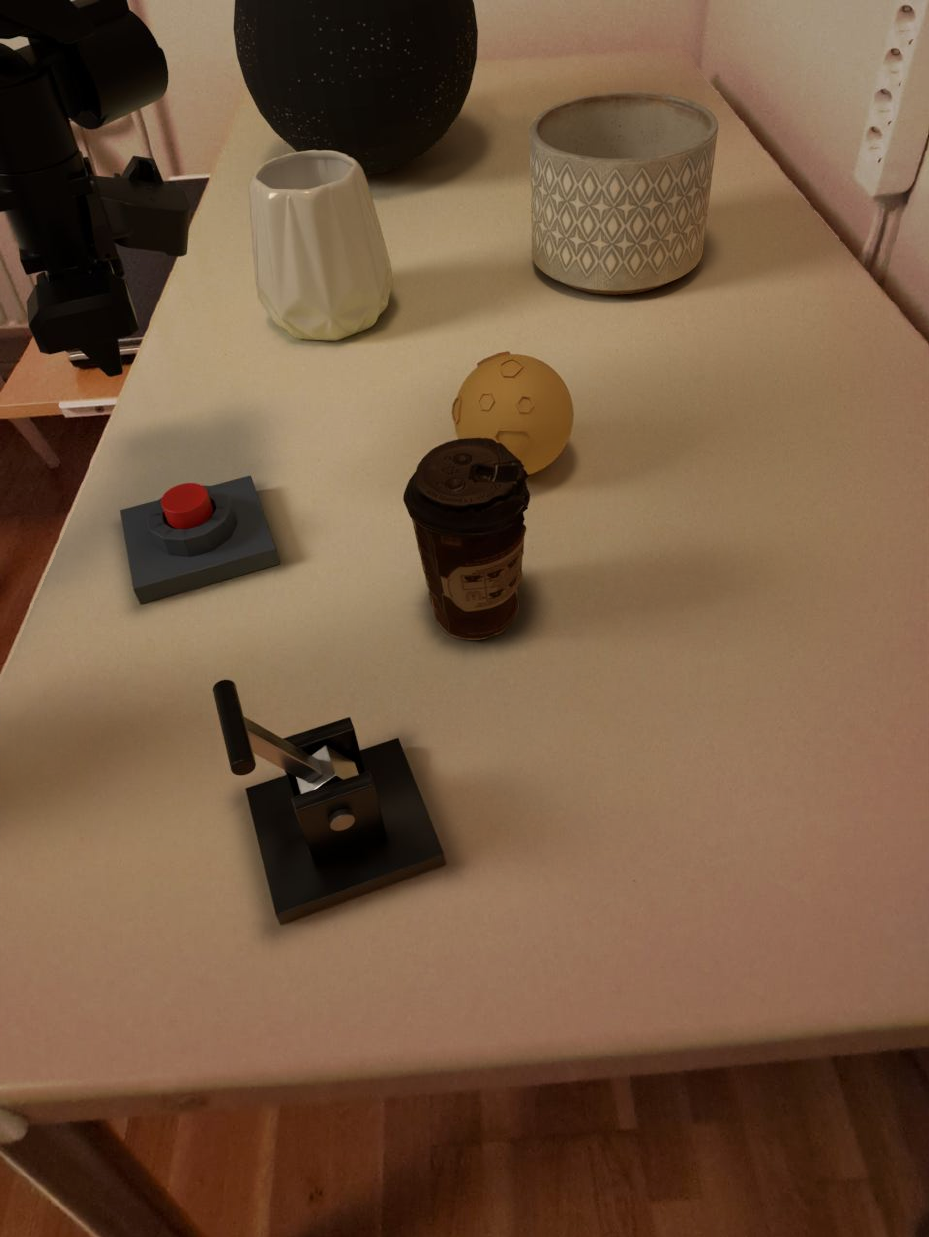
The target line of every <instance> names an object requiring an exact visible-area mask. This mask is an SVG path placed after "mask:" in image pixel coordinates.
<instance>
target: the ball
mask: <svg viewBox="0 0 929 1237" xmlns="http://www.w3.org/2000/svg"><path fill="white" fill-rule="evenodd" d="M475 7H476V6H475V2H474V0H234V11H233V12H234V13H233V35H234V44H235V51H236V58H237V61H238V63H239V67H240V70H241V71H240V72H241V74H242V77H243V81H244V83H245V86H246V88H247V90H248V93H249V94H250V96H251V98H252V100H253V102H254V105H255V106H256V108H257V110H258V113H259V114H260V115H261V116H262V117H263V119H264V120H265V122H266V123H267V124H268V125H269V127H270V128H271V129H272V130H273V132H274V133H275V134H276V135H277V136H278V137H279V138H281V139H282V140H283V141H284V142H285V143H286V144H288V145H289V146H290V147H291V148H292V149H293V150H295V152H302V151H309V150H318V151H322V150H329V151H337V152H340V153H344V154H347V155H348V156H349V157H352V158H354V159H355V160H356V161H357V162H358V163H359V164H360V166H361V167H362V169H363V171H364V174H365V175H366V174H367V175H369V174H380V173H384V172H389V171H393V170H395V169H398V168H401V167H403V166H406V165H408V164H409V163H411V162H413V161H415V160H417V159H418V158H420V157H422V156H423V155H425V154H426V153H427V152H429V151H430V150H431V149H432V148H433V147H434V146H435V145H436V144H437V143H438V142H439V141H440V140H441V139H443V137H444V136H445V135H446V134H447V133H448V131H449V130H450V128H451V127H452V126H453V124H454V122H455V121H456V119H457V118H458V116H459V115H460V114H461V112H462V109H463V107H464V105H465V102H466V100H467V98H468V96H469V92H470V90H471V86H472V82H473V78H474V73H475V69H476V64H477V60H478V40H479V39H478V38H479V30H478V22H477V15H476V8H475Z"/></svg>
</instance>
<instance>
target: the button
mask: <svg viewBox="0 0 929 1237" xmlns="http://www.w3.org/2000/svg"><path fill="white" fill-rule="evenodd" d="M202 485H203V484H200V483H197V482H185V483H180V484H177V485H175V486H172V487H171V488H169V489H168V490H166V491H165V493H164V494H163V495H162V497H161V498H162V499H161V505H162V508H163V511H164V513H165V516H166V518H167V521H168V523H169V524H170V525H171V526H172V527H174V528H177V529H190V528H193V527H197V526H200V525H202V524H203V523H205V522H206V521H208V520H209V519H210V517H211V516H212V513H213V507H212V504H211V501H210V498H209V495H208V492H207V490H206V488H205V487H203V486H202Z"/></svg>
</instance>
